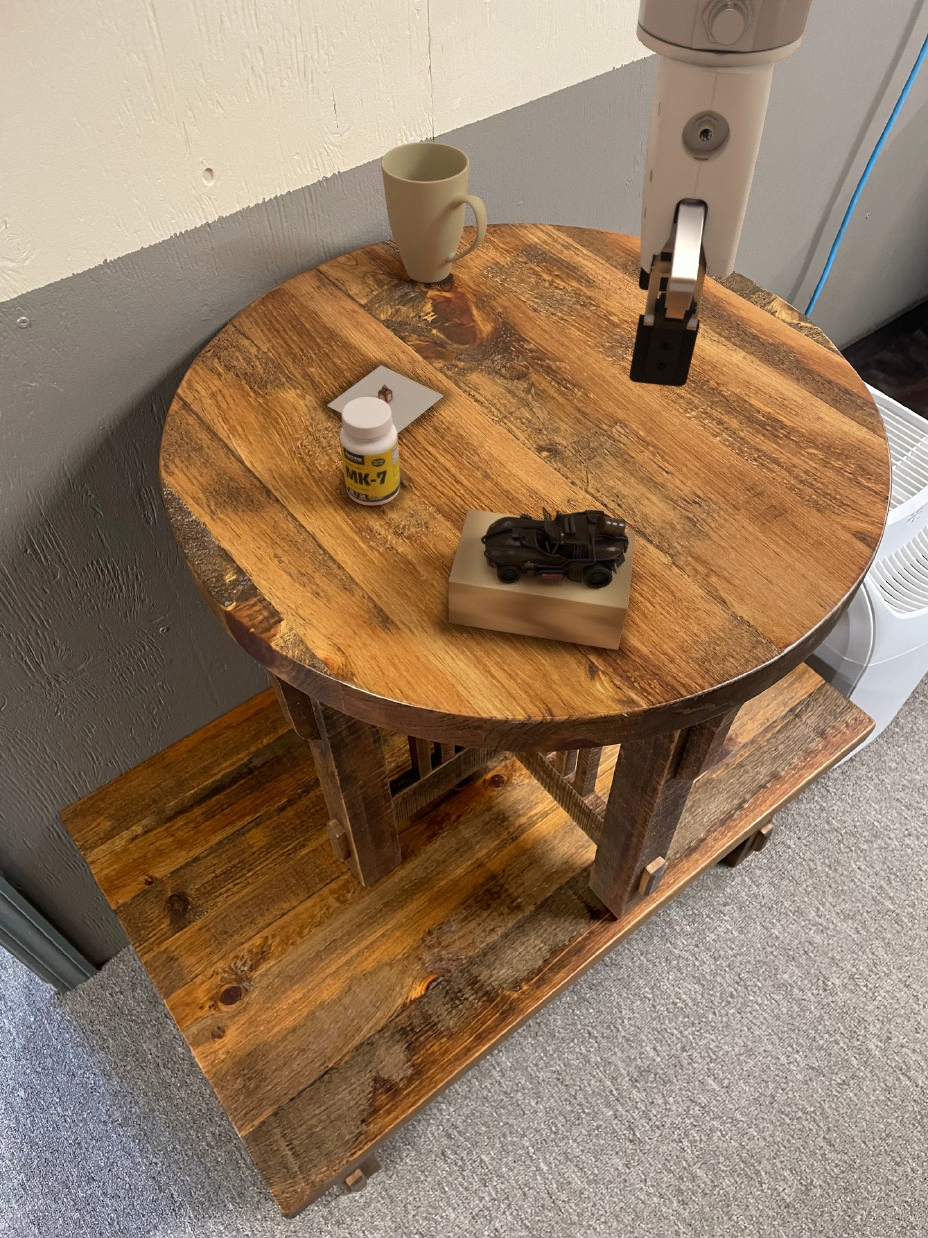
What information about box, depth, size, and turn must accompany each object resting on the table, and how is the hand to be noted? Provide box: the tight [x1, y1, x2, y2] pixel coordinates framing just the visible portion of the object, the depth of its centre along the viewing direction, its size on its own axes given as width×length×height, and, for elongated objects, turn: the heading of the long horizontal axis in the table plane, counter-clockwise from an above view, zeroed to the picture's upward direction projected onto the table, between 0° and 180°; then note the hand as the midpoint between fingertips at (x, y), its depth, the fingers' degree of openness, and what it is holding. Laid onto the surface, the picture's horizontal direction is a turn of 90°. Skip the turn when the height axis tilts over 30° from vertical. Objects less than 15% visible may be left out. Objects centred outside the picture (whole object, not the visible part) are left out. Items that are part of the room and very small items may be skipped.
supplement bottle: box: [339, 397, 401, 506], centre depth 72 cm, size 5×5×8 cm
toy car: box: [481, 506, 629, 589], centre depth 62 cm, size 6×12×4 cm, turn 91°
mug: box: [380, 141, 488, 284], centre depth 92 cm, size 11×10×12 cm
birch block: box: [447, 508, 636, 651], centre depth 66 cm, size 13×8×5 cm, turn 79°
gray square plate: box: [326, 364, 445, 435], centre depth 82 cm, size 8×8×2 cm
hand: (660, 332), depth 52 cm, fingers open, 9 cm apart
